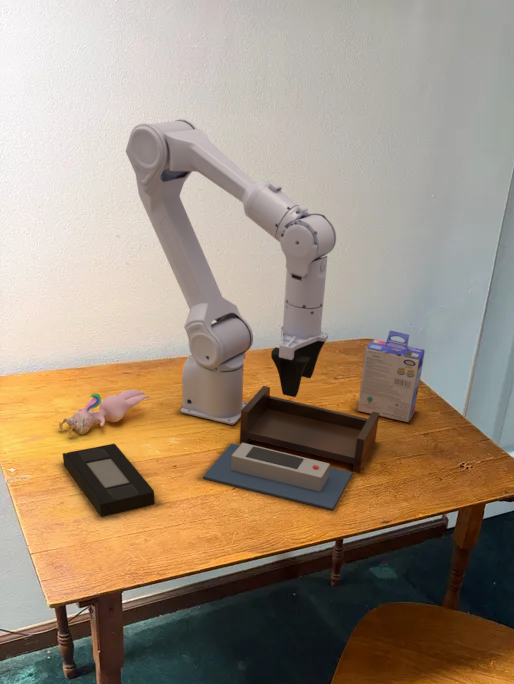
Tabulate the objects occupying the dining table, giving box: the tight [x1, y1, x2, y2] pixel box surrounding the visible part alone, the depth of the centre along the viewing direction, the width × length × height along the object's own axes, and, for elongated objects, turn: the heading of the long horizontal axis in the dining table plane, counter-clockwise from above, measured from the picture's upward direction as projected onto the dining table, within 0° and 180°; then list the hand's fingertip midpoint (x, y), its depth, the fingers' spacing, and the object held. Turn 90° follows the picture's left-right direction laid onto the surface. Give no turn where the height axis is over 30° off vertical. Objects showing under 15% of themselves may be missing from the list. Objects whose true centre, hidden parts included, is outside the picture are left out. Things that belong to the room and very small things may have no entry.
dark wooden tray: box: [239, 385, 380, 474], centre depth 127 cm, size 20×10×6 cm, turn 78°
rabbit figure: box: [58, 389, 150, 439], centre depth 123 cm, size 6×6×15 cm
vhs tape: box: [62, 443, 156, 517], centre depth 111 cm, size 8×14×2 cm, turn 37°
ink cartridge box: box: [356, 330, 426, 423], centre depth 139 cm, size 10×6×14 cm, turn 78°
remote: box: [231, 443, 331, 492], centre depth 119 cm, size 14×4×3 cm, turn 78°
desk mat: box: [202, 442, 353, 511], centre depth 120 cm, size 20×11×1 cm, turn 78°
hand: (297, 385), depth 125 cm, fingers open, 7 cm apart
